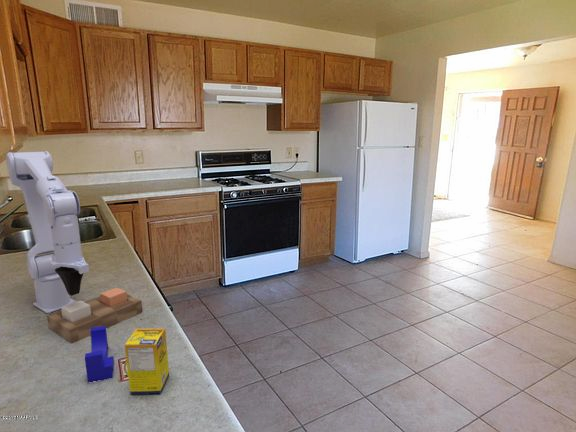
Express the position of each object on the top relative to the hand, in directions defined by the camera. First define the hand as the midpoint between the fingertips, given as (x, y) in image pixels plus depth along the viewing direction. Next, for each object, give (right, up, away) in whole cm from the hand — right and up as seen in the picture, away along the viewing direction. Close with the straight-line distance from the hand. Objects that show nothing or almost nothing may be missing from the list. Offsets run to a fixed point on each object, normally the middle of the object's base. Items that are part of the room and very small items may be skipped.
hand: (73, 293), depth 93 cm
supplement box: (+26, -14, -19) cm, 35 cm away
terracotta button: (+6, -5, +10) cm, 12 cm away
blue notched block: (+13, -13, -12) cm, 22 cm away
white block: (0, -7, +2) cm, 7 cm away
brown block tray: (+3, -8, +6) cm, 11 cm away
